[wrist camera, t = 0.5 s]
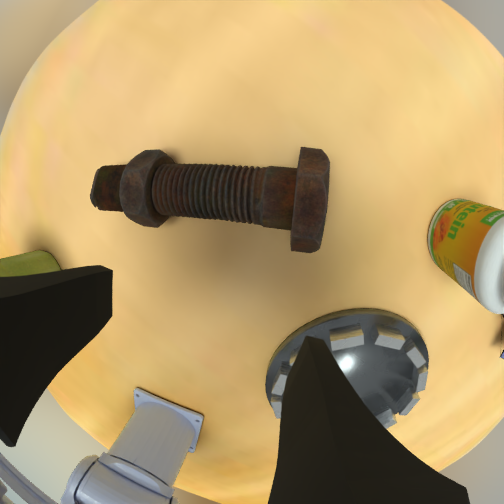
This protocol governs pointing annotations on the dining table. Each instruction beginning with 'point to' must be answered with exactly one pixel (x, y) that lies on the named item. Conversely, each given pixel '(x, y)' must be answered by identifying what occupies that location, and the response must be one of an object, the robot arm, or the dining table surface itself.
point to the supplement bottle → (471, 249)
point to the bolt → (220, 193)
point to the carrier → (362, 359)
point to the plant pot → (28, 264)
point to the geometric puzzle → (503, 350)
